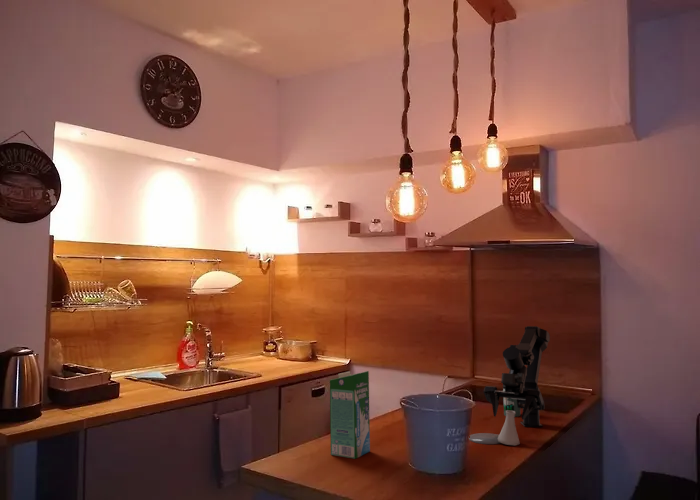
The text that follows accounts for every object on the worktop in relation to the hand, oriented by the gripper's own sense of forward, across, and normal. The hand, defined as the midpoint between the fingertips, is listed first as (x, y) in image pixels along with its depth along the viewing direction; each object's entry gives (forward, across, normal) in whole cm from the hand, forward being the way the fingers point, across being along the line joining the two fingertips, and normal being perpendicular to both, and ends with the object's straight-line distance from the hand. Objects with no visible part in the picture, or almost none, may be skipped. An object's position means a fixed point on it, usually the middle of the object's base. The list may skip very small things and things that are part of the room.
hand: (508, 417), depth 180 cm
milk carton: (+31, -39, -18) cm, 53 cm away
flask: (+6, 0, +6) cm, 8 cm away
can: (-24, -11, +35) cm, 44 cm away
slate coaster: (+5, -8, +7) cm, 11 cm away
